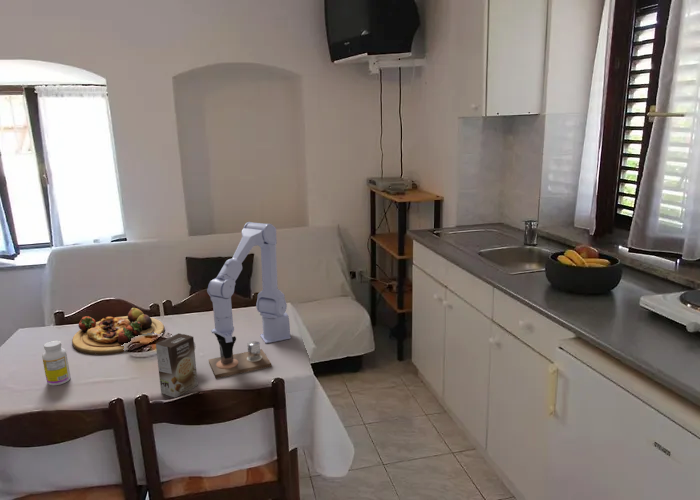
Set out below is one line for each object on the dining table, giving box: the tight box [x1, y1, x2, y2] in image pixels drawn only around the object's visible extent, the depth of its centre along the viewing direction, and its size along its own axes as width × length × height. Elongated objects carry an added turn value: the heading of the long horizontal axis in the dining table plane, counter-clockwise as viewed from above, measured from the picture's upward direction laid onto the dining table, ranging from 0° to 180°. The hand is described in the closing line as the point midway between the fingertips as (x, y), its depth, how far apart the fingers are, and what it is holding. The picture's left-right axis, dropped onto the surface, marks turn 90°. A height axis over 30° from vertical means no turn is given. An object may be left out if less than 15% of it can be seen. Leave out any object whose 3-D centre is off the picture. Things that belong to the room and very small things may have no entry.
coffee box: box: [155, 333, 199, 398], centre depth 163 cm, size 9×6×16 cm
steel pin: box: [218, 342, 234, 364], centre depth 177 cm, size 4×4×7 cm
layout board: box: [208, 340, 272, 379], centre depth 179 cm, size 18×12×6 cm, turn 114°
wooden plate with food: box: [71, 307, 165, 356], centre depth 204 cm, size 32×32×8 cm
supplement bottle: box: [41, 340, 71, 387], centre depth 170 cm, size 7×7×13 cm
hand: (226, 354), depth 178 cm, fingers open, 4 cm apart
